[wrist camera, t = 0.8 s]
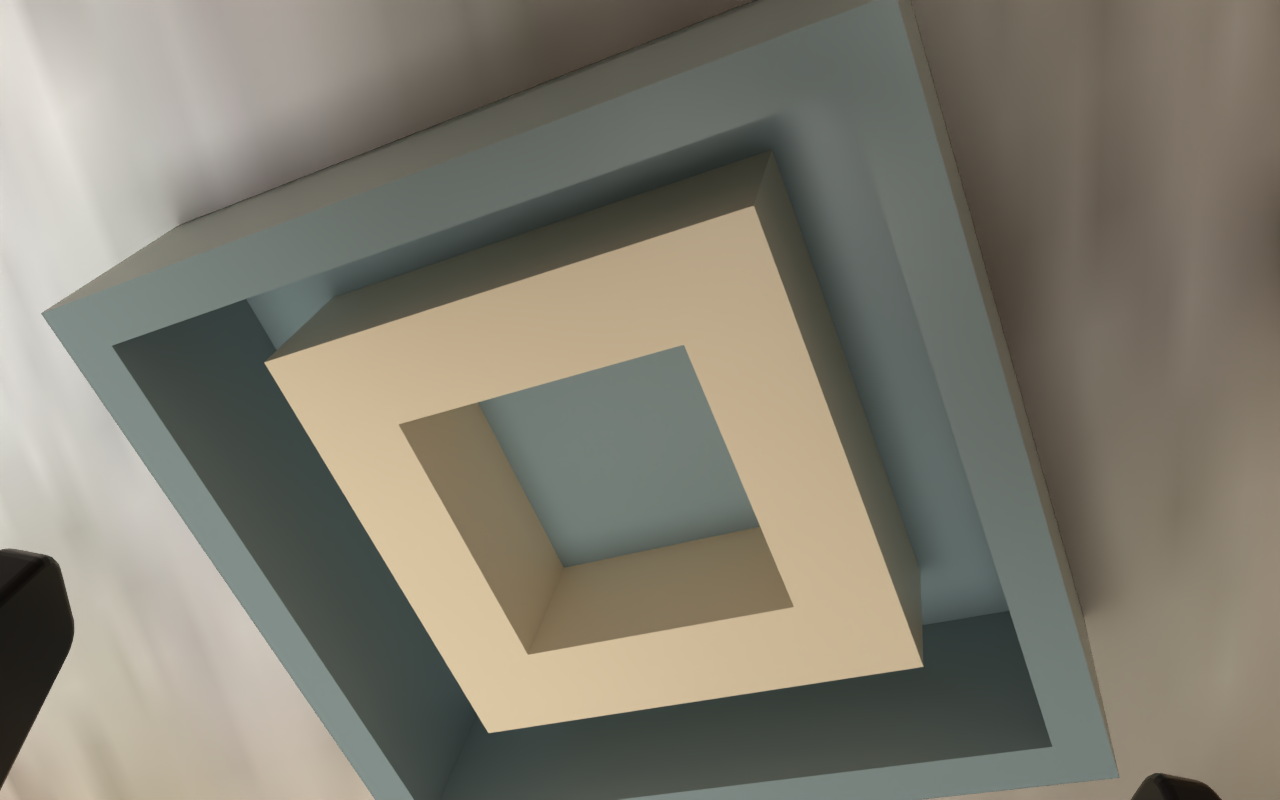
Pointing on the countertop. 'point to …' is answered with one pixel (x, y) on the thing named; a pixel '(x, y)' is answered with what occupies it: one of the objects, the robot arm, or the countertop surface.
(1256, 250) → the countertop surface
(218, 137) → the countertop surface
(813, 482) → the open box
